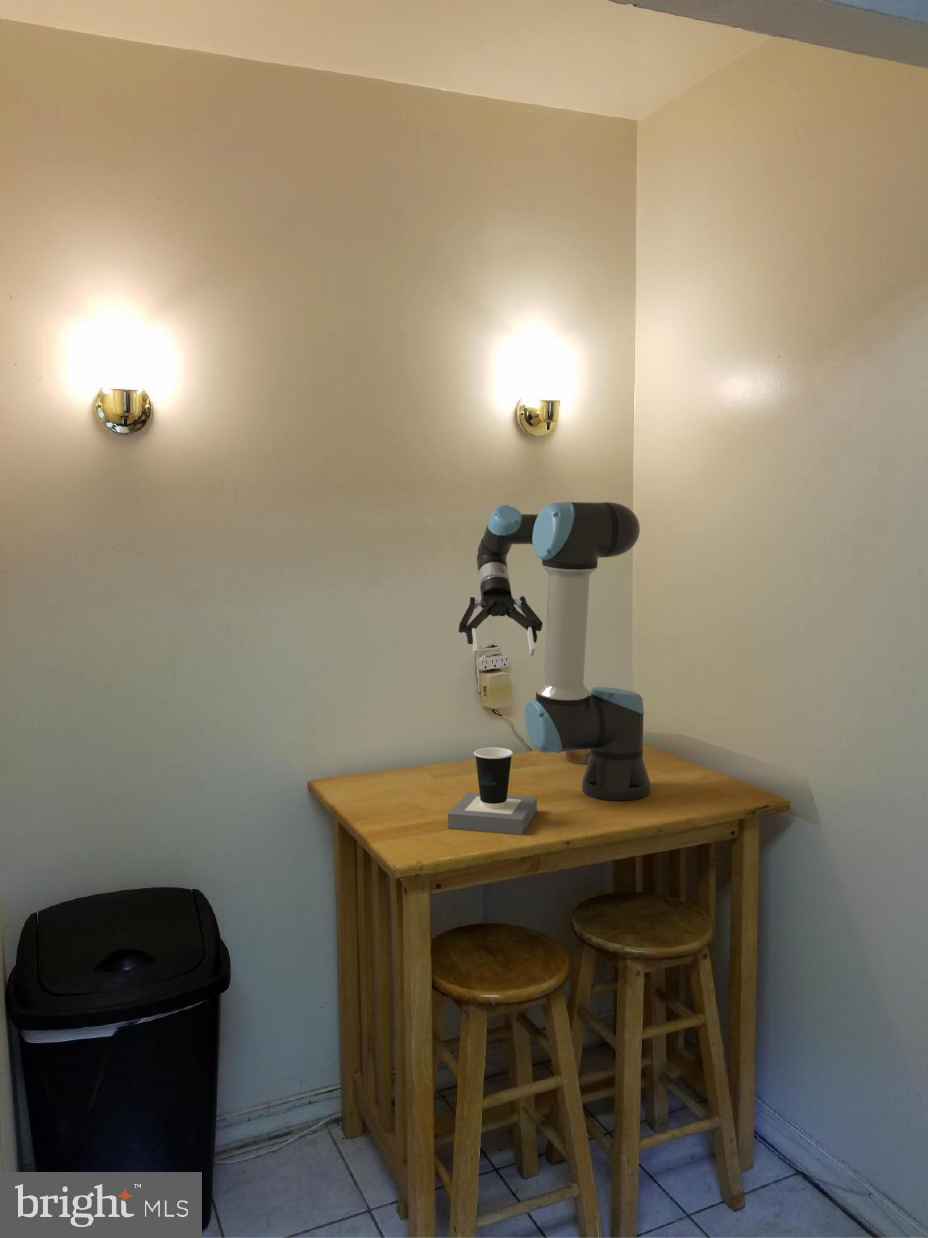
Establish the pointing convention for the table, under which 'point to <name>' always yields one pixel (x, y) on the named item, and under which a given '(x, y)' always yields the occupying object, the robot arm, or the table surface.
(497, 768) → the dixie cup
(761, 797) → the table surface
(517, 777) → the table surface
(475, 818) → the plinth
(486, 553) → the robot arm
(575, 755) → the bread roll
